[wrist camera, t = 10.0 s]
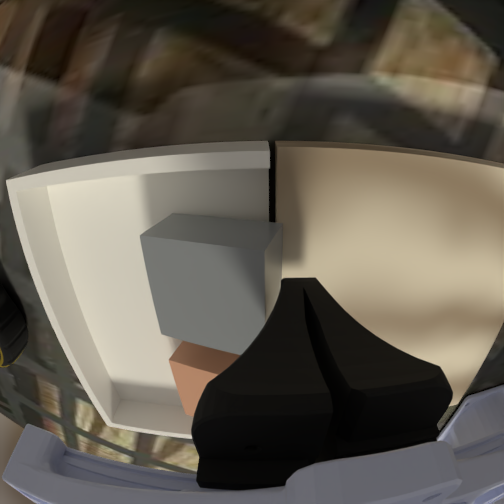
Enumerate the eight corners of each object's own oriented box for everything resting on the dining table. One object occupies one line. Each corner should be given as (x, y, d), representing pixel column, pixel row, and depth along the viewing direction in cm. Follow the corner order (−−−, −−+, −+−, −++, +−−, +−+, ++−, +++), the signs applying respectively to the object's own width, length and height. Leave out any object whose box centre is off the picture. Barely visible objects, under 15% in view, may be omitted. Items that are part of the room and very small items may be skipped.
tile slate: (280, 323, 14) (264, 360, 12) (186, 304, 16) (161, 334, 14) (283, 223, 12) (264, 251, 10) (172, 213, 14) (139, 235, 12)
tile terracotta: (276, 405, 17) (264, 437, 15) (202, 386, 19) (185, 414, 17) (279, 349, 15) (264, 386, 13) (191, 329, 17) (168, 359, 15)
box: (267, 407, 21) (267, 441, 18) (118, 396, 21) (107, 425, 19) (268, 140, 13) (269, 150, 10) (41, 164, 13) (5, 180, 10)
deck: (449, 386, 20) (457, 404, 18) (271, 407, 21) (271, 429, 19) (526, 168, 12) (547, 178, 10) (274, 140, 13) (277, 147, 11)
